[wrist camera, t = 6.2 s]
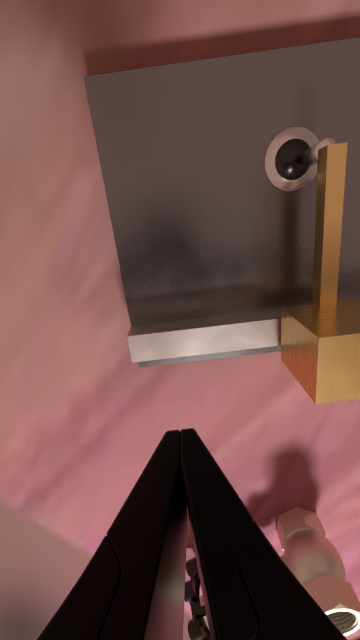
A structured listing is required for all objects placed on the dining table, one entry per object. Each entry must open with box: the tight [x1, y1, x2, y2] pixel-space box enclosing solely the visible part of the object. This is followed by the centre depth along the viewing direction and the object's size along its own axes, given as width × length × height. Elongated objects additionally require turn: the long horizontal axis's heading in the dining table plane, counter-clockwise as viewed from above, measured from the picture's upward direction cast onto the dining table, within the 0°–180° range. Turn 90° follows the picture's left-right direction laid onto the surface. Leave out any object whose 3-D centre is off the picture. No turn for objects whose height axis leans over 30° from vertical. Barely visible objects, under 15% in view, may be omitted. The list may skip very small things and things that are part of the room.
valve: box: [184, 507, 360, 640], centre depth 22 cm, size 7×7×12 cm
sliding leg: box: [281, 138, 360, 404], centre depth 12 cm, size 4×10×6 cm, turn 7°
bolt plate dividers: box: [84, 37, 360, 367], centre depth 13 cm, size 22×15×7 cm
